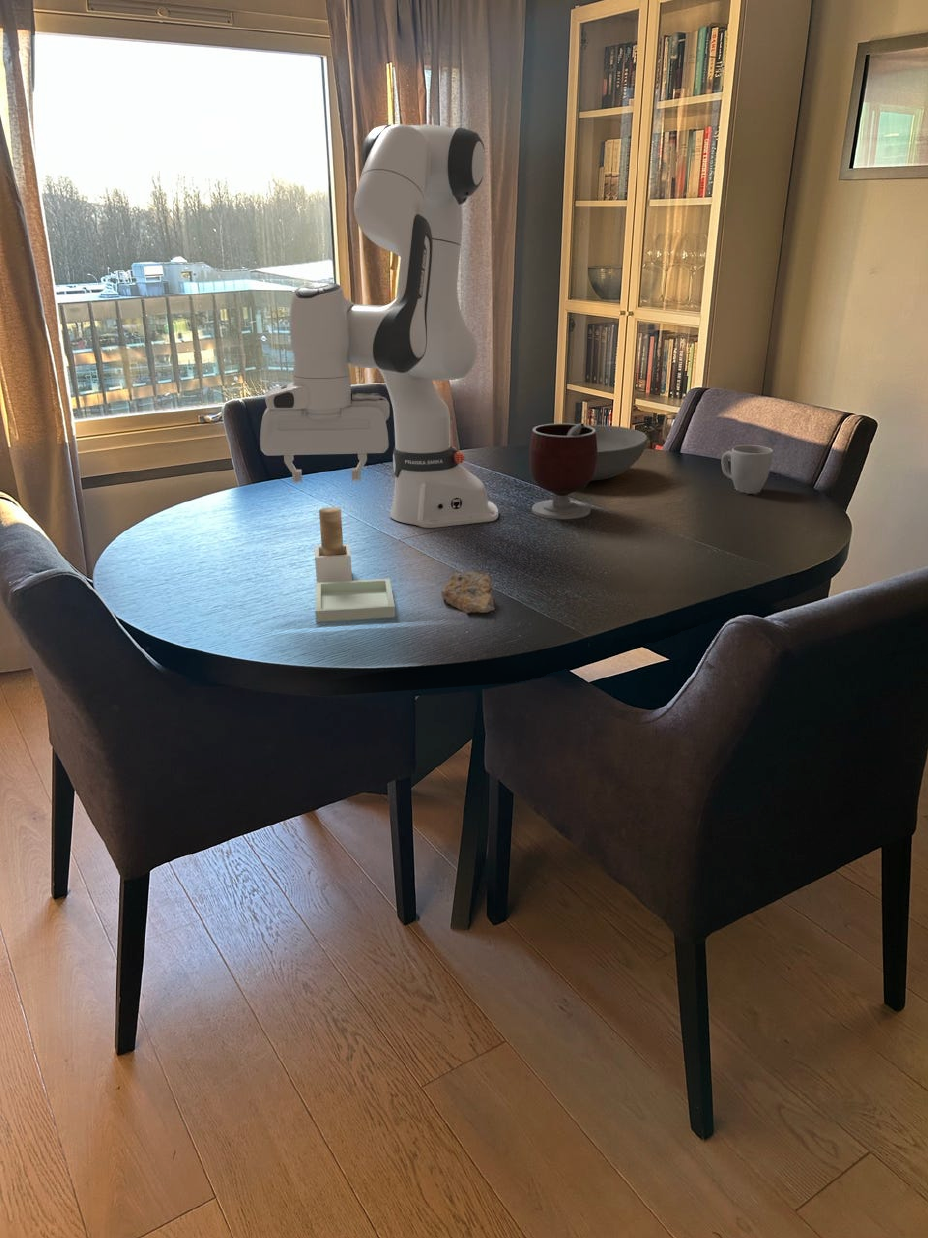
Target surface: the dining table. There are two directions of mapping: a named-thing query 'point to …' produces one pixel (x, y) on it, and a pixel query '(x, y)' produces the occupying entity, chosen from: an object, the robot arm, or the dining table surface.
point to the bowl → (616, 450)
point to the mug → (748, 466)
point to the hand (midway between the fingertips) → (326, 480)
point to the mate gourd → (562, 466)
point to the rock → (469, 592)
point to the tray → (354, 600)
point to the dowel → (331, 531)
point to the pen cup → (333, 566)
